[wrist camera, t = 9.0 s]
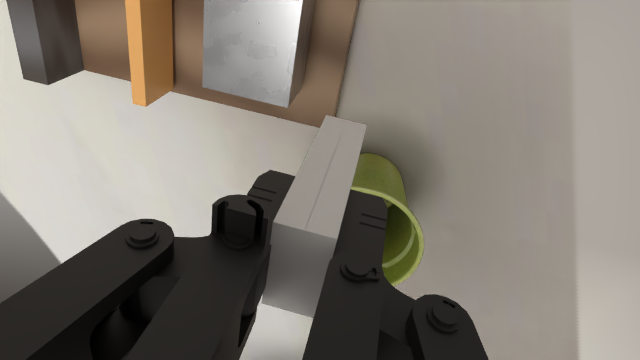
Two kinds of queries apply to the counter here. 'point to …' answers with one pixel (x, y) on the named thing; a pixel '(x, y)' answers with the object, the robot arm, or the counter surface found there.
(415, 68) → the counter surface
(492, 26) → the counter surface
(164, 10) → the upright wooden plank
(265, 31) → the grey foam block
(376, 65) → the counter surface
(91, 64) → the gauge board
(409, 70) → the counter surface
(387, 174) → the plant pot
